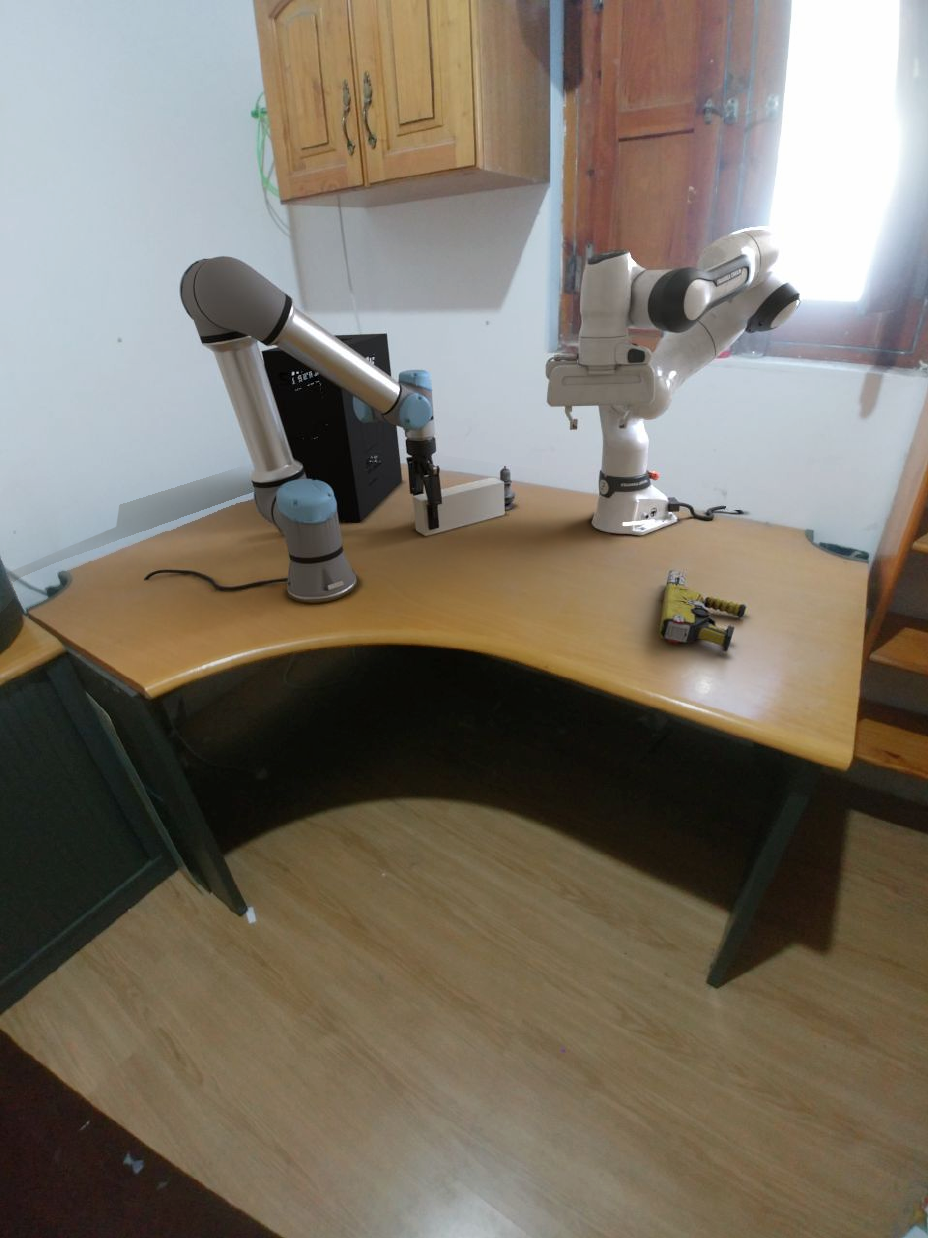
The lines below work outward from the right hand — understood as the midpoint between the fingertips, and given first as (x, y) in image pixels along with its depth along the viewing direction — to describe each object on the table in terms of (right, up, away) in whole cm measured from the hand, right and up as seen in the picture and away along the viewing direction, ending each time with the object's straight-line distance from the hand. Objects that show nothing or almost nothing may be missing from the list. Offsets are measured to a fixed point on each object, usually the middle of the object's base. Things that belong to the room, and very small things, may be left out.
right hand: (597, 428), depth 119 cm
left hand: (-36, -12, +42) cm, 57 cm away
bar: (-27, -11, +48) cm, 56 cm away
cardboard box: (-61, 0, +69) cm, 92 cm away
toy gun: (+19, -38, -3) cm, 42 cm away
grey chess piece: (-14, -5, +56) cm, 58 cm away
